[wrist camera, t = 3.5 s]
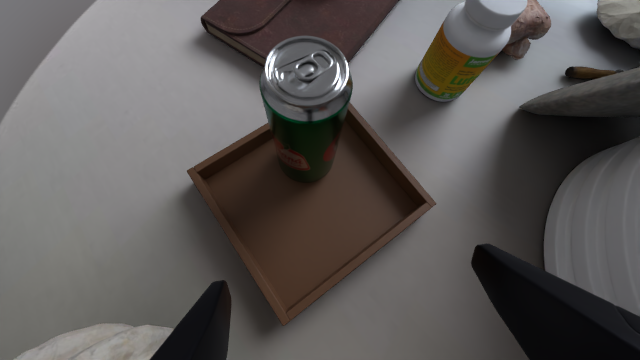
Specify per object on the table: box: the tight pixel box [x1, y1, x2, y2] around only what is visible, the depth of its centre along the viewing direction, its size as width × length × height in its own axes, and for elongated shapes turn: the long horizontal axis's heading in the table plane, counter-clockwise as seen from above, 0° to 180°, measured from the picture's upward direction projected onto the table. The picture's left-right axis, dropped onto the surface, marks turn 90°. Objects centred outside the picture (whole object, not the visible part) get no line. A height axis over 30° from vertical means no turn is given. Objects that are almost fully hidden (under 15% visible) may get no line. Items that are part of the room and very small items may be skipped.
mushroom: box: [502, 0, 551, 60], centre depth 29 cm, size 8×6×8 cm
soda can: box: [260, 36, 353, 183], centre depth 19 cm, size 5×5×12 cm
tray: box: [187, 102, 436, 326], centre depth 23 cm, size 15×14×2 cm
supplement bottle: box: [415, 0, 527, 102], centre depth 24 cm, size 5×5×10 cm
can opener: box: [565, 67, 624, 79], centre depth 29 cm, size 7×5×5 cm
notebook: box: [201, 0, 399, 67], centre depth 30 cm, size 15×20×2 cm
